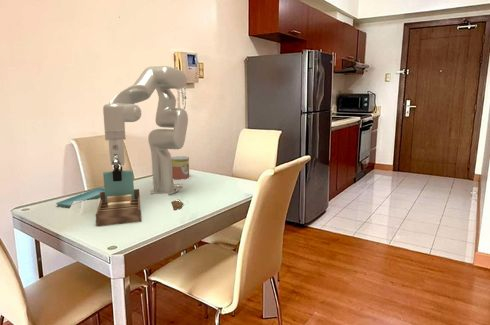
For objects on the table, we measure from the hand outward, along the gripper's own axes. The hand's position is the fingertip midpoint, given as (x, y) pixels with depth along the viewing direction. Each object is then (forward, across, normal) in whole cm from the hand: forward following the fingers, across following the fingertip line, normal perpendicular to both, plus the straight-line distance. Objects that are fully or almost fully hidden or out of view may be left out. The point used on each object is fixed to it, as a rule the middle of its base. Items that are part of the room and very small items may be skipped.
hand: (118, 178), depth 138 cm
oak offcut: (+13, -4, 0) cm, 14 cm away
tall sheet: (+13, 0, 0) cm, 13 cm away
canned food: (+14, +58, -31) cm, 68 cm away
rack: (+15, -7, 0) cm, 16 cm away
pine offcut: (+13, -8, 0) cm, 16 cm away
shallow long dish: (+15, +27, +16) cm, 35 cm away
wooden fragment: (+15, +1, -19) cm, 24 cm away
